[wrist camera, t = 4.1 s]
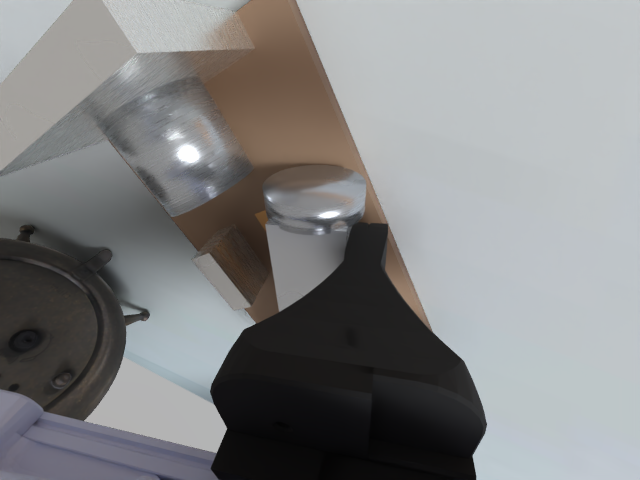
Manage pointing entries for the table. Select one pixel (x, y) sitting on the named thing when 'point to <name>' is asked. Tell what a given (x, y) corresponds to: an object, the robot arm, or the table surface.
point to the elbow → (309, 224)
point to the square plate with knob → (140, 111)
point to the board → (281, 139)
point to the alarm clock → (58, 327)
